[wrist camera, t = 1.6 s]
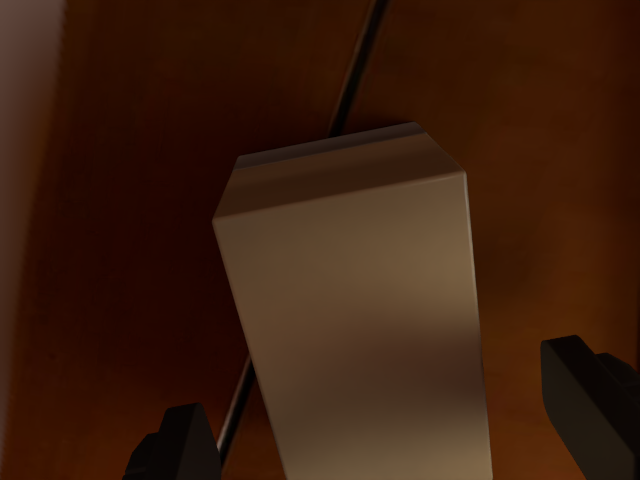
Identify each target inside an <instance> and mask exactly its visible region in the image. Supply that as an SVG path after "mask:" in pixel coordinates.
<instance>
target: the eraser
mask: <svg viewBox="0 0 640 480" xmlns="http://www.w3.org/2000/svg"><path fill="white" fill-rule="evenodd" d="M212 225H213V228H214V232H215V235H216V239H217V242H218V246H219V249H220V252H221V256H222V259H223V263H224V266H225V270H226V273H227V277H228V280H229V283H230V287H231V290H232V294H233V297H234V301H235V304H236V308H237V311H238V314H239V318H240V321H241V325H242V328H243V332H244V335H245V339H246V342H247V345H248V349H249V352H250V356H251V359H252V363H253V366H254V370H255V373H256V376H257V380H258V383H259V387H260V390H261V394H262V397H263V401H264V404H265V407H266V411H267V414H268V418H269V421H270V425H271V428H272V432H273V435H274V438H275V442H276V445H277V449H278V452H279V456H280V459H281V463H282V466H283V469H284V473H285V476H286V480H493V475H492V464H491V452H490V441H489V429H488V418H487V406H486V395H485V383H484V372H483V360H482V349H481V337H480V325H479V314H478V302H477V291H476V279H475V268H474V256H473V245H472V233H471V222H470V210H469V199H468V187H467V176H466V172H465V170H464V169H462V168H461V167H460V166H459V165H458V164H457V163H456V162H455V161H454V160H453V159H452V158H451V157H450V156H449V155H448V154H447V153H446V152H445V151H444V150H443V149H442V148H441V147H440V146H439V145H438V144H437V143H436V142H435V141H434V140H433V139H432V138H431V137H430V136H429V135H427V133H426V132H425V131H424V130H423V129H422V128H421V127H420V126H419V125H418V124H417V123H416V122H409V123H404V124H399V125H394V126H389V127H384V128H379V129H374V130H369V131H364V132H359V133H354V134H349V135H344V136H338V137H333V138H328V139H323V140H318V141H313V142H308V143H303V144H298V145H293V146H288V147H283V148H278V149H273V150H267V151H262V152H257V153H252V154H247V155H242V156H239V157H238V158H237V161H236V163H235V165H234V168H233V170H232V174H231V176H230V179H229V181H228V183H227V186H226V188H225V190H224V193H223V195H222V197H221V200H220V202H219V204H218V207H217V209H216V211H215V214H214V216H213V219H212Z"/></svg>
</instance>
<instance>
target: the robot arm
mask: <svg viewBox="0 0 640 480" xmlns="http://www.w3.org/2000/svg"><path fill="white" fill-rule="evenodd" d="M541 373H542V395H543V401H544V405H545V409H546V412H547V414H548V417H549V419H550V421H551V423H552V425H553V426H554V428H555V429H556V431H557V433H558V434H559V436H560V437H561V439H562V441H563V442H564V444H565V445H566V447H567V449H568V450H569V452H570V453H571V455H572V457H573V458H574V460H575V461H576V463H577V465H578V466H579V468H580V469H581V471H582V473H583V474H584V476H585V477H586V479H587V480H640V376H639V375H638V373H637V372H636V371H635V370H634V369H633V368H632V367H631V366H630V365H629V364H627V363H625V362H623V361H621V360H620V359H618V358H616V357H614V356H612V355H610V354H608V353H601V354H596V355H595V354H594V353H593V352H592V351H591V349H590V348H589V347H588V346H587V345H586V344H585V343H584V341H583V340H582V339H581V338H580V337H579V336H577V335H572V336H566V337H561V338H555V339H550V340H544V341H542V343H541ZM122 480H221V461H220V455H219V451H218V448H217V445H216V442H215V439H214V437H213V434H212V431H211V428H210V425H209V422H208V419H207V416H206V413H205V411H204V408H203V406H202V404H201V403H199V402H198V403H193V404H187V405H182V406H176V407H171V408H168V409H167V410H166V412H165V414H164V417H163V420H162V423H161V426H160V429H159V432H157V433H152V434H147V435H146V437H145V438H144V439H143V440H142V441H141V443H140V444H139V445H138V446H137V448H136V449H135V450H134V451H133V452H132V455H131V457H130V460H129V463H128V465H127V468H126V470H125V475H124V476H123V478H122Z"/></svg>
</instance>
